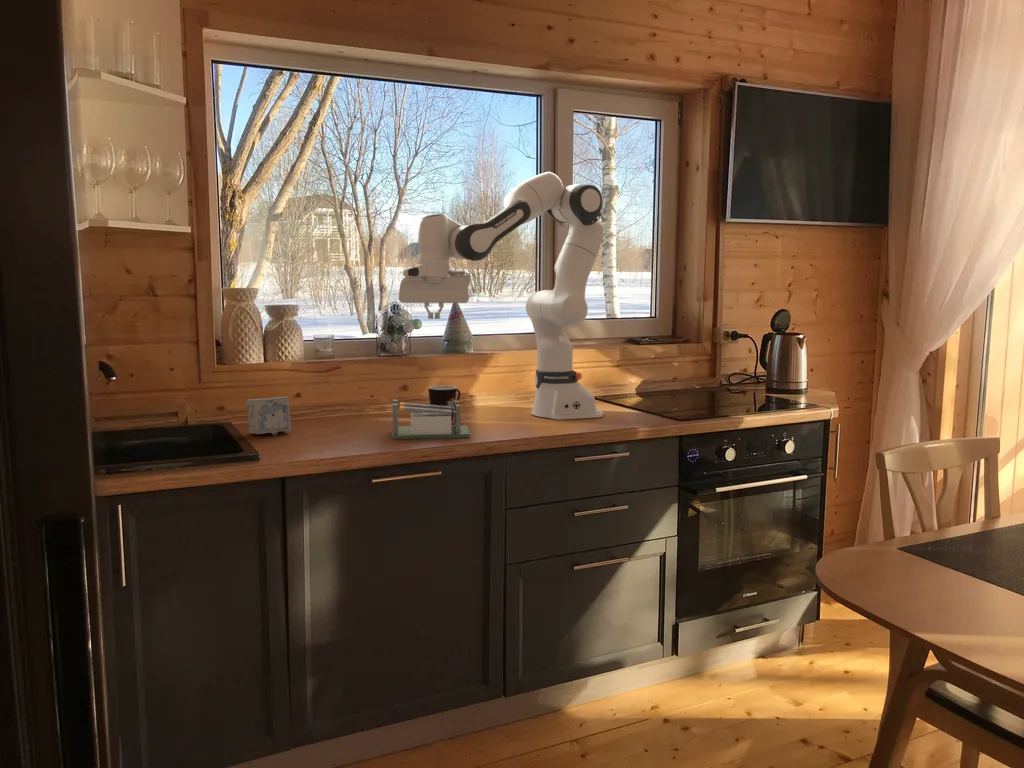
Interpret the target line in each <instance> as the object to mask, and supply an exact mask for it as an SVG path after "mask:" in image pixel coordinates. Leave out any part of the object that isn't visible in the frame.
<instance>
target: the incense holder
mask: <svg viewBox="0 0 1024 768" xmlns="http://www.w3.org/2000/svg"><path fill="white" fill-rule="evenodd" d="M289 402H290V400H289V396H287V395H286V396H275V397H274V396H273V397H269V398H267V397H266V398H251V399H249V398H248V399H246V402H245V403H246V404H245V406H246V408H247V417H248V434H250V435H251V434H252V435H253V434H255V435H262V434H271V435H272V436H277V434H278V433H280V432H289V431H292V430H291V429H292V425H291V424H292V423H291V415H290V405H289Z"/></svg>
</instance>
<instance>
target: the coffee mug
mask: <svg viewBox="0 0 1024 768" xmlns="http://www.w3.org/2000/svg"><path fill="white" fill-rule="evenodd" d="M427 389H428V398H429V405H441V406H451V410H452V406H454V401H458V402H459V401H460V398H461V391H460V390H459V389H457V386H454V385H442V384H441V385H432V386H429V387H428V388H427ZM457 393H458V397H457ZM451 422H454V413H453V410H452V414H451Z"/></svg>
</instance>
